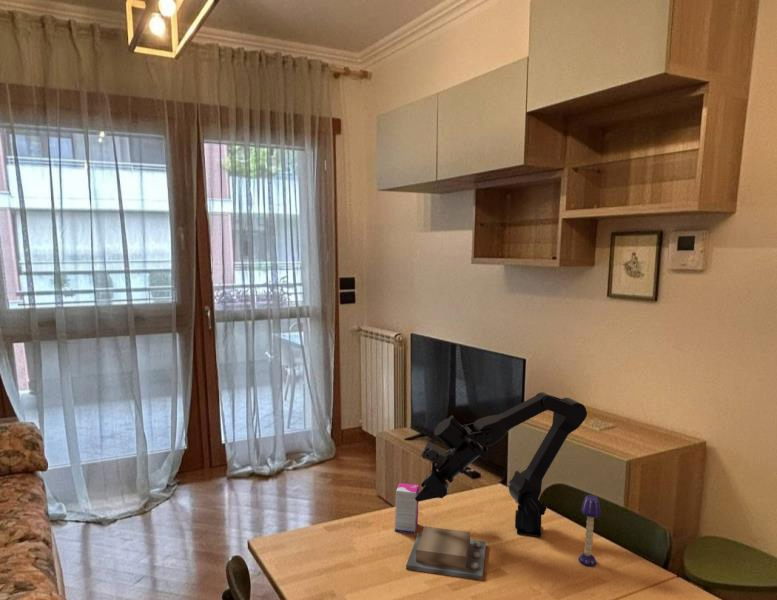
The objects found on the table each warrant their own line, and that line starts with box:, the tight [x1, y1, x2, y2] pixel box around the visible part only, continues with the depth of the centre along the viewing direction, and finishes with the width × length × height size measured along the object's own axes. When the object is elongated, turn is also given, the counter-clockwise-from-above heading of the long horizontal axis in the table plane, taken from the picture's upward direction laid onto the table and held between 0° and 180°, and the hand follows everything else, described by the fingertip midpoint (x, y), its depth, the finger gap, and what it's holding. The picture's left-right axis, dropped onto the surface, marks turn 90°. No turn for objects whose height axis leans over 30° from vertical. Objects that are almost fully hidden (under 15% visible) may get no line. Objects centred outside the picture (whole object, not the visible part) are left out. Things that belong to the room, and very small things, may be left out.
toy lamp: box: [577, 494, 602, 568], centre depth 132 cm, size 5×5×17 cm
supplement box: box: [394, 482, 420, 534], centre depth 149 cm, size 6×6×12 cm
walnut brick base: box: [405, 526, 487, 581], centre depth 134 cm, size 18×16×4 cm
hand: (419, 492), depth 147 cm, fingers open, 9 cm apart
